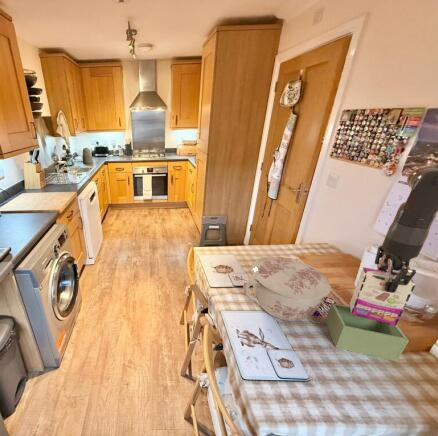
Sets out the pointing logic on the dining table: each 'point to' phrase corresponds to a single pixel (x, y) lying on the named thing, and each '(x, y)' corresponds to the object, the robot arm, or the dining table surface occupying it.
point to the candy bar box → (379, 297)
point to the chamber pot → (287, 287)
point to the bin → (364, 334)
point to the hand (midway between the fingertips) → (383, 285)
